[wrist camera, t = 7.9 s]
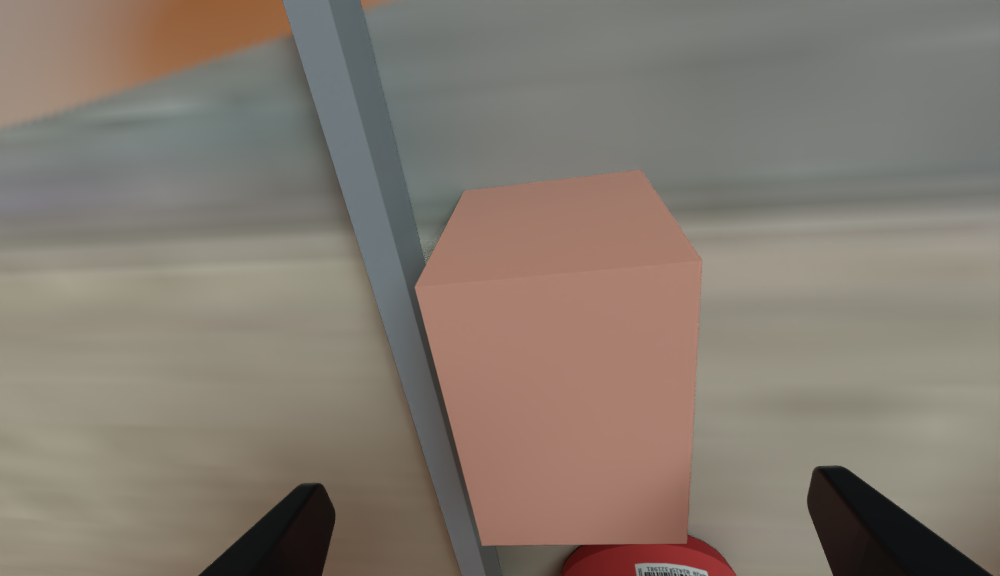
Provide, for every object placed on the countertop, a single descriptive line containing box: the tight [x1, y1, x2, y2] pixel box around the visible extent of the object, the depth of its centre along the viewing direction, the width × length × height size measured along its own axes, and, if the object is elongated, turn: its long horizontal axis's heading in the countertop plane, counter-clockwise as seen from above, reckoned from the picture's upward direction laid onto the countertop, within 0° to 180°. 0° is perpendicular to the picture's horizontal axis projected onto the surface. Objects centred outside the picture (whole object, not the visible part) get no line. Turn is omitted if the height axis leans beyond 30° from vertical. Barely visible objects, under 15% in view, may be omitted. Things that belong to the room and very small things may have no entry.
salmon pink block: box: [415, 170, 702, 546], centre depth 13 cm, size 5×8×6 cm
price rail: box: [282, 0, 502, 576], centre depth 16 cm, size 1×32×2 cm, turn 9°
